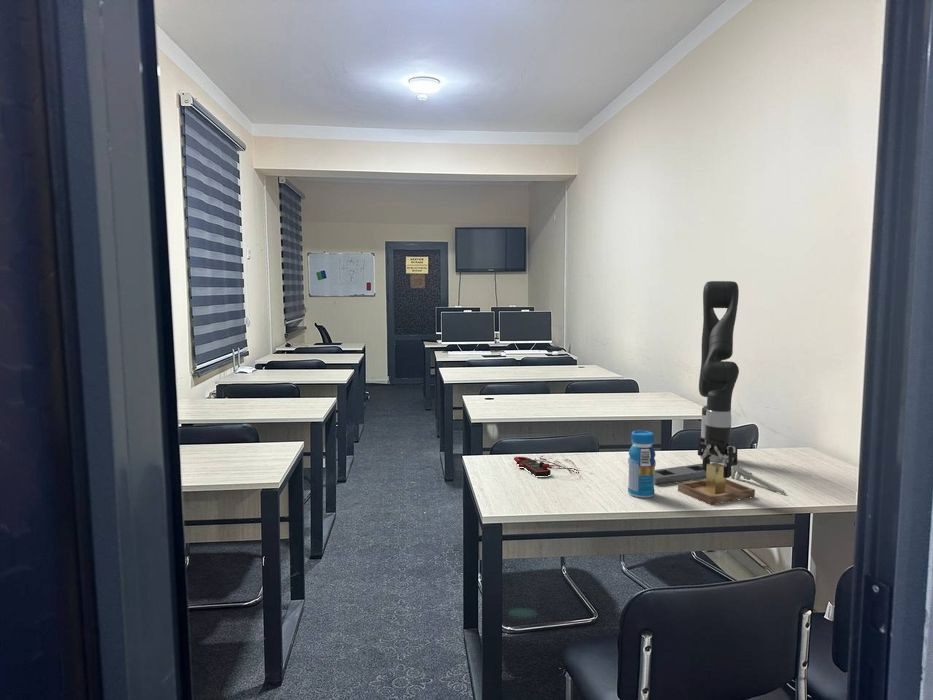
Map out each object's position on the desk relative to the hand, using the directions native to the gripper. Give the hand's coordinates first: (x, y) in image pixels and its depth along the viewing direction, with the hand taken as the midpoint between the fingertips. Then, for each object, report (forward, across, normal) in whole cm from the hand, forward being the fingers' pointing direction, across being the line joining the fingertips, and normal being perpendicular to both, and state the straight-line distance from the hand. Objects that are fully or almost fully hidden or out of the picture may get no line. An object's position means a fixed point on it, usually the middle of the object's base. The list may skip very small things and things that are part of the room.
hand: (716, 473), depth 191 cm
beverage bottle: (+7, +9, +22) cm, 25 cm away
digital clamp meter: (+7, +45, +34) cm, 57 cm away
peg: (+6, 0, 0) cm, 6 cm away
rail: (+7, +18, -2) cm, 19 cm away
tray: (+7, 0, 0) cm, 7 cm away
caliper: (+7, +1, -19) cm, 20 cm away
